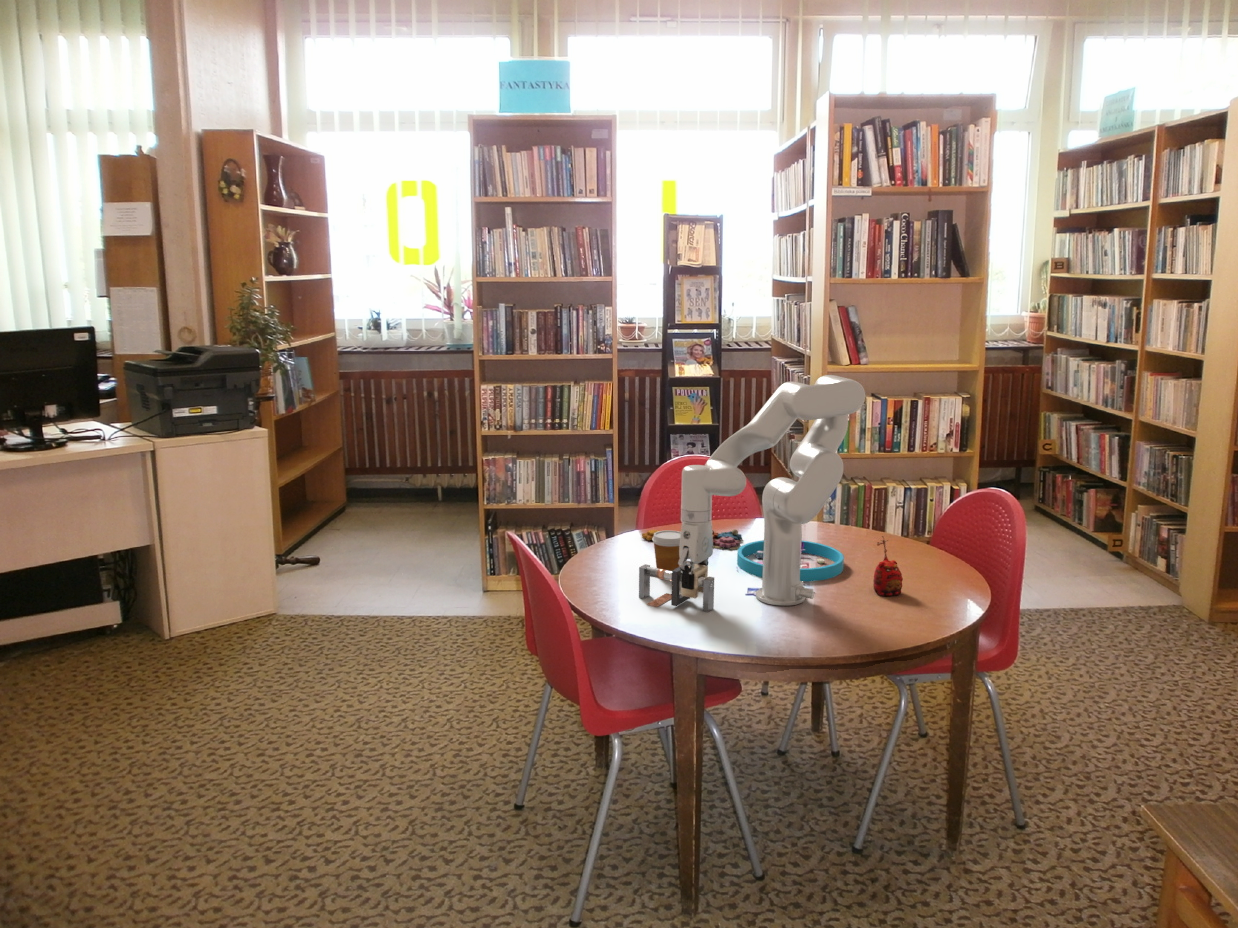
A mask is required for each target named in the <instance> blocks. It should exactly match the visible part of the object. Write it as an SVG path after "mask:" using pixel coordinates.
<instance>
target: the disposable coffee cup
mask: <svg viewBox="0 0 1238 928" xmlns="http://www.w3.org/2000/svg"><path fill="white" fill-rule="evenodd" d="M680 534H681V531H678V530H667V529H666V530H659V531H658V532H656V533H654V536H653V538H652V540H651V541H652V543H653V548H654V558H655V565H656V567H655V568H658V569H664V570H668V571H673V570H674V569H676V568H678V567H680V566H679V564H678V561H679V559H680V556H679V547H680Z"/></svg>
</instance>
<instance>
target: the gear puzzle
mask: <svg viewBox="0 0 1238 928" xmlns="http://www.w3.org/2000/svg"><path fill="white" fill-rule="evenodd" d="M658 531H660V530H658V529H657V530H656V529H650V530H647V531H646V532H643V533H642V534H641V538H642V539H646V540H647V541H653V540H652V538H653V536H654V533H656V532H658ZM712 531H713V549H715V550H723V549H729V550H730V551H738V549H739V548H740V547H741V540H742V538H743V537H742V534H740V533H739V531H738V529H736V528H735V529H732V531H731V530H730V531H724V532H721V533H719V532H716V531H714V530H713V529H712ZM739 546H740V547H739Z"/></svg>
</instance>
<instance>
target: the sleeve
mask: <svg viewBox="0 0 1238 928" xmlns="http://www.w3.org/2000/svg"><path fill="white" fill-rule="evenodd" d="M688 567H689V568H690V566H688ZM708 568H709V565H708V566H705V565H700V564H695V565H694V570H693V574H694V589H693V590H690V589H685V588H682V582H681V583H680V588H681V589H680V591H681V592H680V594H681V596H686V597H690V599H697V598H698V596H699V595H698V593H703V587H701V586H698V577H699V576H700V577H705V578H707V577H709V576H708V575H709V574H708V573H709V572H708V571H709V569H708Z"/></svg>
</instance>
